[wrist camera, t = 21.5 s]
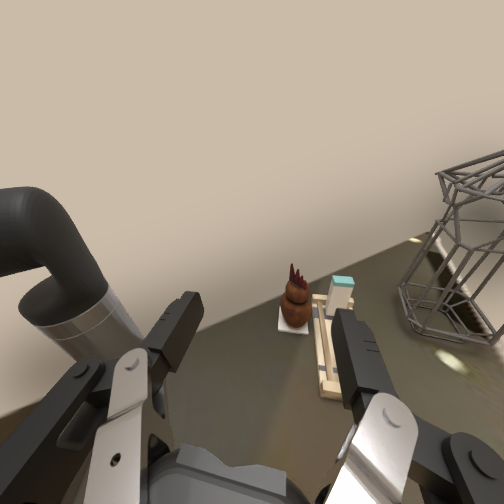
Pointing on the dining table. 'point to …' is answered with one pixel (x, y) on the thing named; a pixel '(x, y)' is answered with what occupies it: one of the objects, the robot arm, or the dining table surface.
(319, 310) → the light wooden tray
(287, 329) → the pad
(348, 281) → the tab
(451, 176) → the geometric lantern
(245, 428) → the dining table surface
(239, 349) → the dining table surface
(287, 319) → the wooden figurine
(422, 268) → the dining table surface
